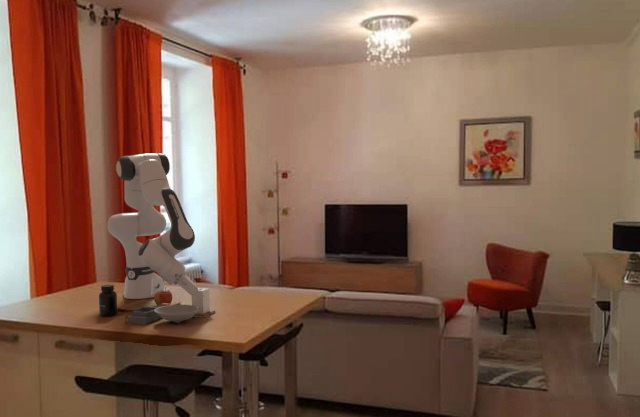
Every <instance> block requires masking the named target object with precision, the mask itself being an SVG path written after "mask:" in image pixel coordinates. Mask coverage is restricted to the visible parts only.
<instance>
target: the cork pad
mask: <svg viewBox="0 0 640 417" xmlns="http://www.w3.org/2000/svg"><path fill="white" fill-rule="evenodd" d="M215 313H216V310H215V309H210V311H208V312H206V313H204V314H198V313H196V314H195V315H194V316H192V317H191V318H202V319H203V318H207V317H209V316H212V315H213V314H215Z"/></svg>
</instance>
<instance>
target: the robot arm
mask: <svg viewBox="0 0 640 417" xmlns="http://www.w3.org/2000/svg"><path fill="white" fill-rule="evenodd" d="M115 166H116V167H115V171H116V173H117V175H118V178H119V179H121V180H122V181H124V186H123V187H124V188H123V190H124V202H125V204H126V205H127V206H128V207H129V208H132V209H134V210H136V211H137V212H122V213H117V214H114V215H113V214H112V215H111V216H110V217H109V219H108V221H107V226H106V227H107V231H108V233H109V234H110V235H111V236H112V237H113V238H116V239H117V240H118V241H119V242H120V244H121V245H122V246H123V249H124V252H125V253H124V254H125V261H126V262H125V263H126V266H125V269H124V270H125V275H126V276H125V278H124V292H123V293H122V296H123V298H124V299H127V300H129V299H130V300H139V299H141V300H142V299H148V298H154V296H155V294H156V293H157V292H160V291H165V288H166V291H168V292H170V288H169V287H165V284H164V281H165V282H167V283H168V284H169V285H172V284H174V285H179V287H181V288H182V289H183V290H184V291H185V292H187V293H188V294H189V295H190V296H192V295H196V296H197V297H199V298H200V299H202V298H203V297H204V295H203V294H201V293H200V292H199V291H198V288H199V287H197V285H196V284H195V283H194V282H193V280H192V278H190V277H189V275H187V271H185V270H186V266H184V265H183V263H181V262H180V261H179V260H178V259H177V258H175V256H176V255H178V254H179V253H180V254H181V252H183V251H184V250H187V249H188V248H191V247H192V246H193V245H194V244H195V240H196V234H195V231H194V229H193V227H192V226H191V225H190V223H189V221H188V219H187V217H186V214H185V212H184V210H183V207H182V204H181V202H180V199H179V197H178V195H177V194H176V192H175V191H174V190H173V189H172V188H171V186H170V184H169V183H170V182H169V180H168V177H167V175H168V174H169V173H170V168H171V165H170V159H169V158H168V156H167V155H166V154H164V153H159V152H157V153H139V154H132V155H123V156H121V157H119V158H118V159H117V161H116V164H115ZM156 206H157V207H158V206H159V207H160V206H163V207H164V209H165V211H166V214H167V217H168V219H169V223H170V227H169V230H167V231H166V232H164V231H165V230H166V228H167V219H166V217H165V215H164V214H163V213H161V212H160V211H158V210H157V209H156V208H155V207H156ZM158 234H162V235H159V236H158V237H154V238H148V239H146V240H145V241H144V242H143V243H142V242H140V241H138V240H137V237H142V236H143V237H145V236H155V235H158ZM155 272H156V273H155Z"/></svg>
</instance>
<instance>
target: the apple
mask: <svg viewBox="0 0 640 417" xmlns="http://www.w3.org/2000/svg"><path fill="white" fill-rule="evenodd" d="M164 288H165V291H160V292H157V293H156V294H155V296H154V297H153V298H154V300H153V301H154V302H155V306H156V305H158V304H159V305H161V304H162V303H170V305H172V301H173V293H172V292H171V291H166V288H167V287H164Z"/></svg>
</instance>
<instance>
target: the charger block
mask: <svg viewBox="0 0 640 417" xmlns="http://www.w3.org/2000/svg"><path fill="white" fill-rule="evenodd" d="M197 288H198V291H199V292H200V293H201V294H203V295H204V297H203V298H202V299H200V298H199V297H197V296H196V295H191V305H193V306H197V307H199V308H200V310H199V311H197V312H196V313H198V314H204V313H206V312H208V311H210V310H211V305H210V302H211V301H210V288H208V287H207V288H204V287H203V288H202V287H197Z"/></svg>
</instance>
